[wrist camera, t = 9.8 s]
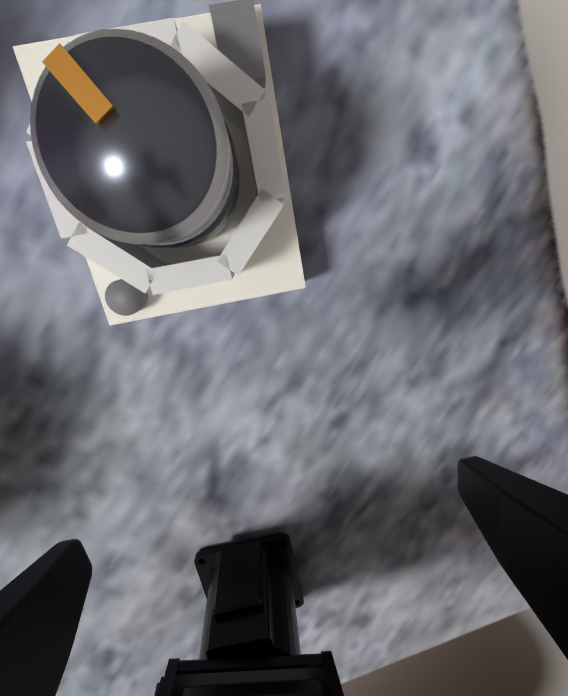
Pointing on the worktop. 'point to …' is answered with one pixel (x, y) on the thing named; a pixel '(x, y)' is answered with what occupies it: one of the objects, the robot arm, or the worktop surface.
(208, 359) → the worktop surface
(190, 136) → the lens
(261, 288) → the mount block
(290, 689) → the robot arm
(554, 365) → the worktop surface
